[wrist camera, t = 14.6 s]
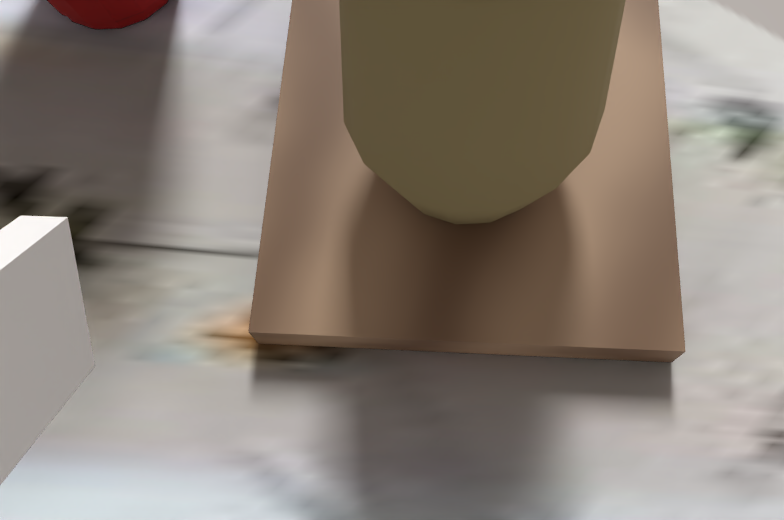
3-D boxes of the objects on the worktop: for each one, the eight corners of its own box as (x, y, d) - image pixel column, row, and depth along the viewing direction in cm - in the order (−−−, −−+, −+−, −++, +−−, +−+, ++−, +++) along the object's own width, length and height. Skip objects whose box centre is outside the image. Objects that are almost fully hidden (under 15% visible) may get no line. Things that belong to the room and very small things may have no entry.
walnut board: (258, 343, 26) (248, 332, 25) (300, 13, 31) (293, -12, 30) (671, 362, 25) (685, 351, 24) (647, 17, 30) (657, -9, 29)
